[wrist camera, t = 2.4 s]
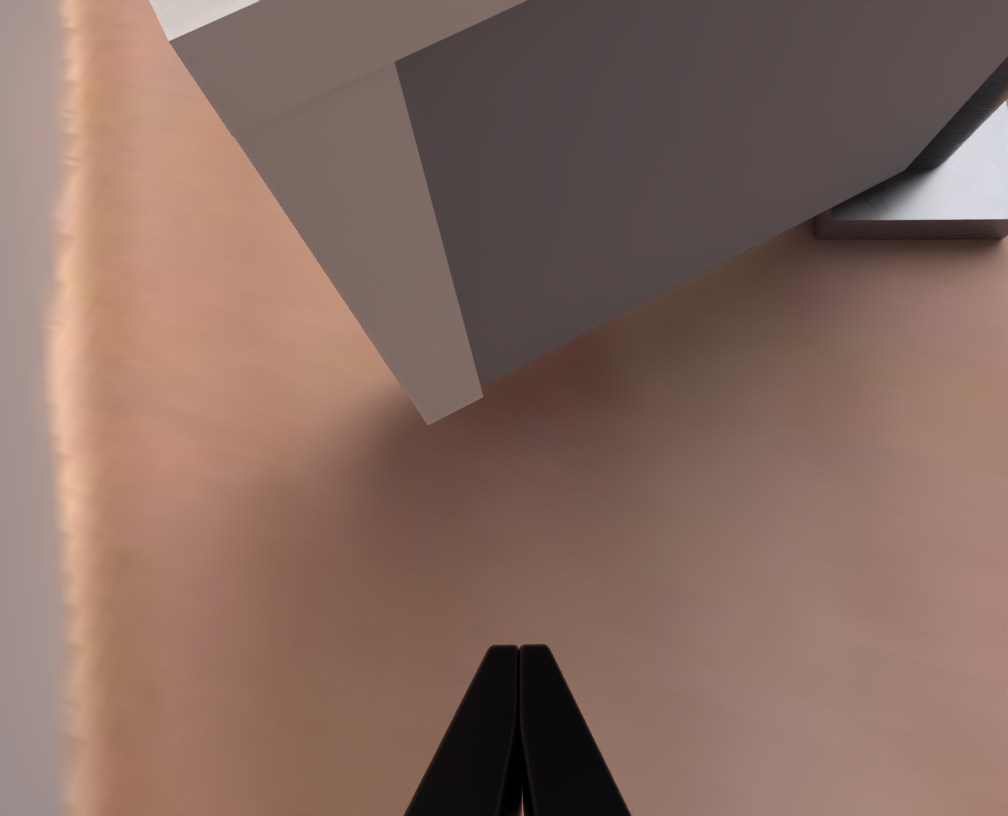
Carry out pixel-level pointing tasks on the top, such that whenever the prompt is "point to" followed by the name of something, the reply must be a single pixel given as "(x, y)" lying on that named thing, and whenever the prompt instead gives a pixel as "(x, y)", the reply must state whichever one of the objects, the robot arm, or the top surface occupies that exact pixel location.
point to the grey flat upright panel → (563, 146)
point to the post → (940, 181)
